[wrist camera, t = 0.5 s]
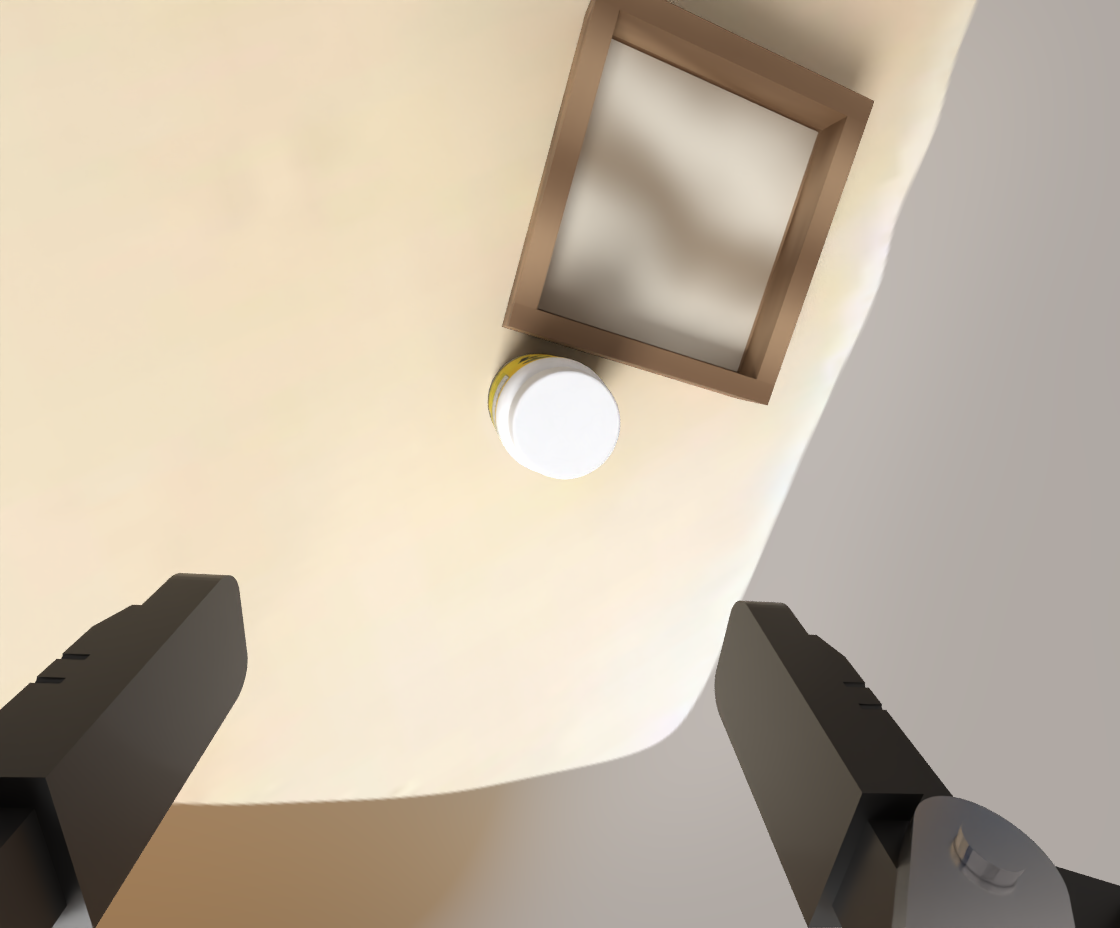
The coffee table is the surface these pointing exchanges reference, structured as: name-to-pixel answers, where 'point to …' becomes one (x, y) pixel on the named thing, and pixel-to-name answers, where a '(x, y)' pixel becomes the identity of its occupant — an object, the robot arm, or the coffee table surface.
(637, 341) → the walnut tray
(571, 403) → the supplement bottle
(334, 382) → the coffee table surface
